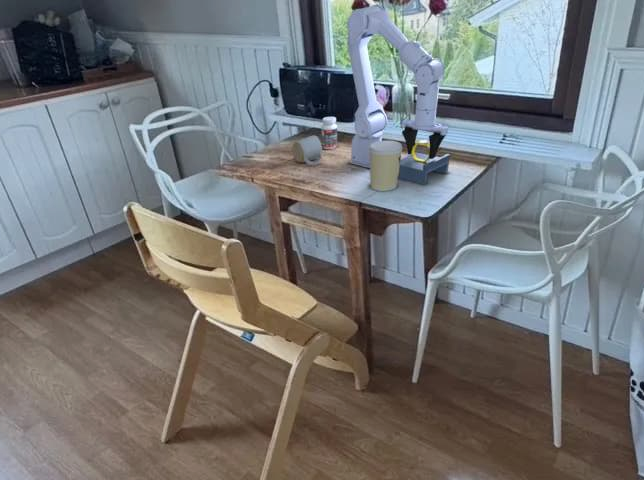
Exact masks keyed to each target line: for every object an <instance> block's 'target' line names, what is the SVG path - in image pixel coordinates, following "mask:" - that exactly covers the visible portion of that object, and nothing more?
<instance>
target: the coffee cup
mask: <svg viewBox="0 0 644 480" xmlns="http://www.w3.org/2000/svg"><path fill="white" fill-rule="evenodd" d="M369 151H370V168H369V181H370V183H369V184H370V188H371V189H373V190H374V191H379V192H380V191H381V192H385V191H392V190H394V189H396V188H397V186H398V180H399V178H398V173H399V167H400V160H401V159H402V151H403V145H402V143H401V142H399V141H395V140H382V141H378V142H375V143H373V144H371V145H370V148H369Z"/></svg>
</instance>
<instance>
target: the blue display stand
mask: <svg viewBox="0 0 644 480" xmlns="http://www.w3.org/2000/svg"><path fill="white" fill-rule="evenodd" d="M415 155H416V157H417V158H418V159H422V160H426V159H427V158H428V156H429V154H427V153H422V152H415ZM450 158H451V154H449V153H446V154H444V155H441V156H440V157H439V156H435V158H433V159H429V160H427V161H426V162H420V161H415V160H414V158H413V157H412V154H408V155H407V156H405V157H403V158H401V160H400V167H399V173H398V179H402V180H406V181H410V182H414V183H418V184H421V185H426V184H427V183H428V174H429V173H431V172H437V173H441V174H447V173H449V165H450V160H451V159H450Z"/></svg>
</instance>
